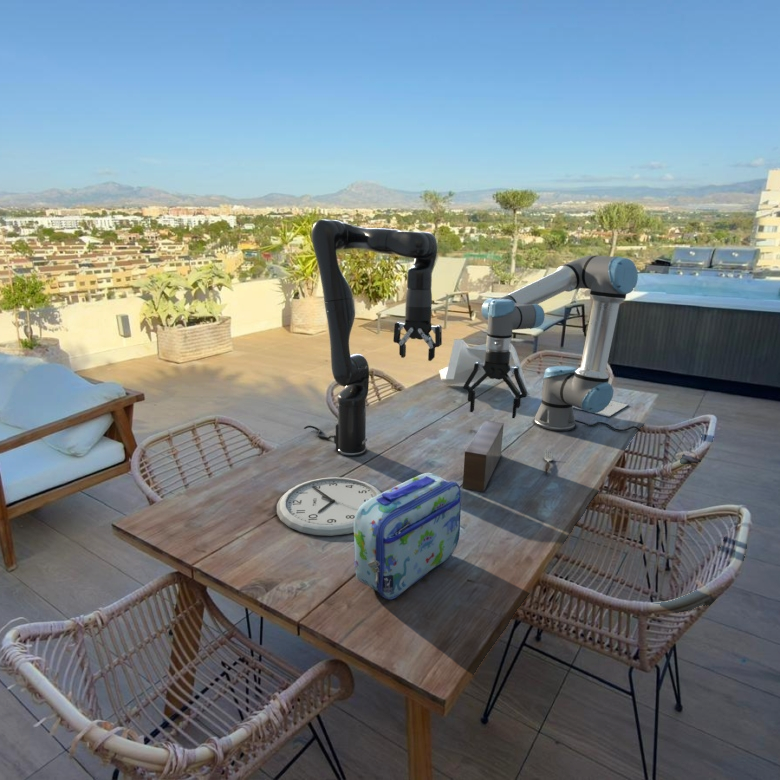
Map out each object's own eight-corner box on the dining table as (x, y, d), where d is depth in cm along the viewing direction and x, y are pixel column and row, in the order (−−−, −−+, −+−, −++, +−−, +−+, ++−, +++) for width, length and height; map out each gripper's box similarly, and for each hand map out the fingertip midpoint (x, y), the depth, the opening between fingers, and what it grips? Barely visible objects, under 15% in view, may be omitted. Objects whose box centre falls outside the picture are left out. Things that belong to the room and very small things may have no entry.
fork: (541, 474, 162) (542, 468, 162) (545, 454, 177) (545, 449, 176) (550, 476, 162) (550, 470, 161) (553, 456, 176) (553, 450, 175)
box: (482, 452, 178) (484, 420, 175) (500, 455, 176) (503, 423, 172) (462, 487, 154) (464, 451, 150) (483, 492, 152) (486, 455, 148)
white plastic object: (461, 429, 252) (437, 405, 227) (444, 352, 274) (420, 323, 250) (535, 404, 240) (518, 377, 215) (510, 326, 262) (492, 293, 237)
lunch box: (382, 612, 103) (384, 519, 97) (347, 586, 110) (346, 498, 104) (464, 557, 121) (469, 475, 114) (429, 538, 128) (432, 460, 122)
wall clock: (392, 527, 129) (268, 531, 127) (391, 533, 130) (269, 537, 127) (383, 473, 158) (282, 475, 155) (383, 478, 158) (282, 480, 156)
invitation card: (608, 416, 214) (573, 407, 224) (608, 416, 214) (573, 408, 224) (628, 404, 229) (594, 396, 238) (628, 405, 229) (594, 397, 238)
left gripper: (390, 304, 150) (389, 359, 155) (438, 307, 145) (436, 364, 150) (400, 300, 157) (398, 353, 161) (446, 304, 152) (443, 358, 156)
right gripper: (456, 348, 164) (452, 411, 170) (537, 356, 155) (530, 423, 161) (462, 343, 170) (458, 405, 177) (540, 351, 162) (533, 415, 168)
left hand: (416, 358), depth 156 cm, fingers open, 8 cm apart
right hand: (492, 414), depth 169 cm, fingers open, 13 cm apart
